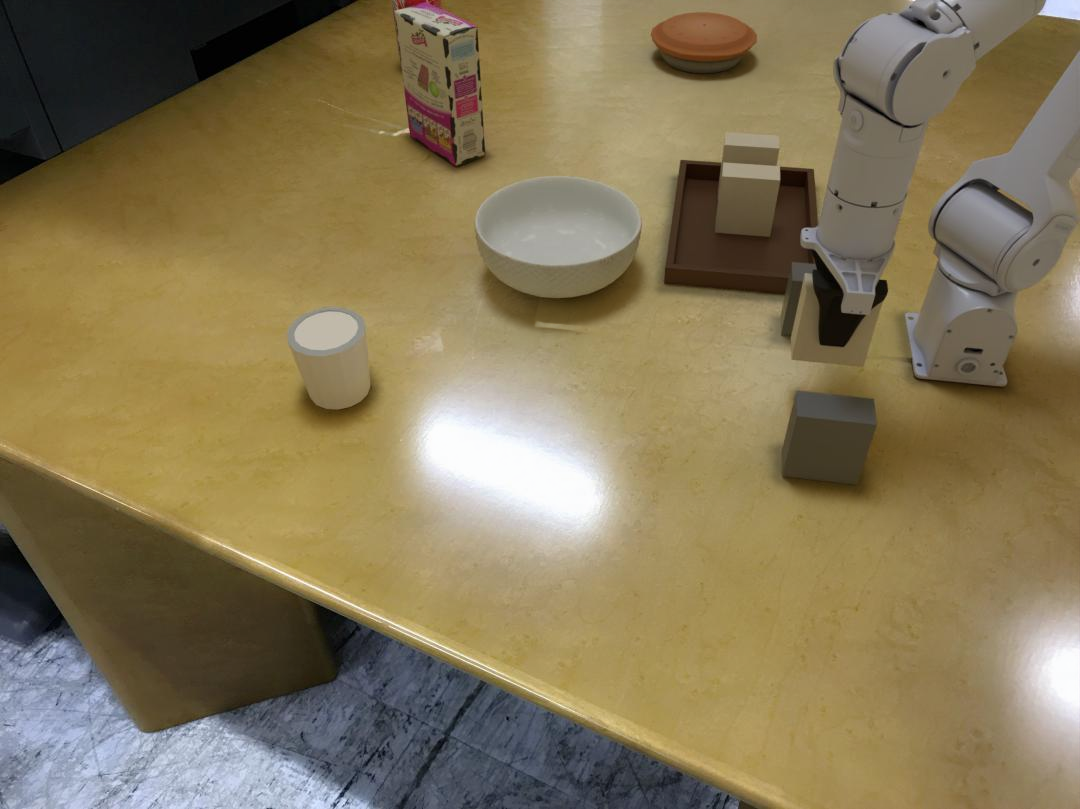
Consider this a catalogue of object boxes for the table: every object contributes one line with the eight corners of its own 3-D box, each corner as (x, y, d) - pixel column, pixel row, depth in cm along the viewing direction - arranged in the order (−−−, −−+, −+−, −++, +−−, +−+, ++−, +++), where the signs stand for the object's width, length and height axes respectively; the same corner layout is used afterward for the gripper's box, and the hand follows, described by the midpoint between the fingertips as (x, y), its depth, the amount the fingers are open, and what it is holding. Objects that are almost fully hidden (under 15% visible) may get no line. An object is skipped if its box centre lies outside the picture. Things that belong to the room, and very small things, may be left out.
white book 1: (769, 204, 104) (779, 148, 99) (717, 200, 104) (724, 144, 100) (769, 190, 106) (779, 135, 101) (718, 187, 107) (725, 132, 102)
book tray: (817, 301, 91) (822, 280, 89) (663, 287, 93) (665, 267, 92) (809, 188, 107) (814, 168, 105) (678, 178, 109) (680, 159, 108)
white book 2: (769, 237, 99) (780, 180, 94) (714, 232, 99) (722, 176, 95) (769, 222, 101) (780, 166, 96) (715, 218, 102) (723, 162, 97)
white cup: (343, 354, 87) (330, 296, 82) (392, 384, 83) (381, 325, 78) (287, 393, 83) (269, 334, 78) (336, 425, 80) (321, 365, 75)
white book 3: (863, 367, 76) (883, 300, 71) (791, 360, 77) (805, 294, 72) (861, 344, 78) (879, 279, 74) (790, 338, 79) (804, 272, 74)
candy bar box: (488, 155, 115) (479, 25, 103) (456, 168, 112) (444, 36, 101) (439, 125, 121) (426, -1, 110) (408, 136, 119) (391, 9, 108)
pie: (629, 51, 137) (631, 18, 134) (712, 31, 142) (716, -2, 139) (687, 89, 127) (691, 54, 124) (774, 65, 132) (780, 31, 129)
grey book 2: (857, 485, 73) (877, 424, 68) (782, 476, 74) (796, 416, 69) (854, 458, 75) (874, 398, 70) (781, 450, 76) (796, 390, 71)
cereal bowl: (499, 336, 88) (495, 277, 83) (464, 245, 100) (459, 188, 95) (661, 305, 91) (666, 246, 86) (609, 220, 103) (611, 164, 98)
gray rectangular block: (843, 345, 86) (860, 286, 81) (779, 339, 87) (792, 280, 82) (841, 326, 88) (857, 267, 83) (779, 320, 89) (791, 261, 84)
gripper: (808, 138, 72) (781, 276, 82) (815, 237, 62) (783, 382, 72) (899, 143, 71) (861, 283, 81) (921, 245, 61) (875, 391, 71)
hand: (830, 330), depth 76 cm, fingers closed on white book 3, 3 cm apart
